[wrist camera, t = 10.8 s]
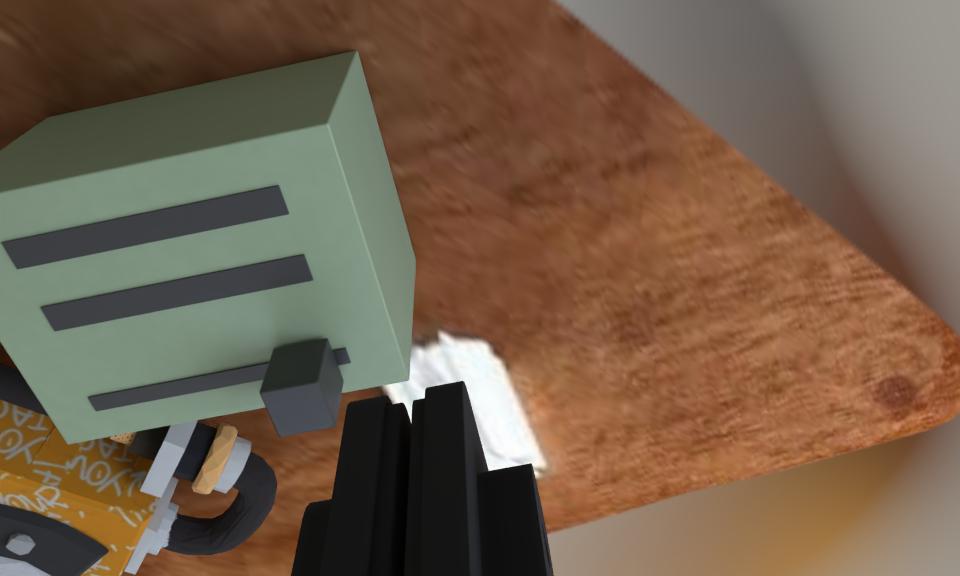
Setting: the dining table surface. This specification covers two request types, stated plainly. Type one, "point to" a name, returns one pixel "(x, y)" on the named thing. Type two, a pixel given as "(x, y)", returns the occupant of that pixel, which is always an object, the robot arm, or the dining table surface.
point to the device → (116, 491)
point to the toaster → (202, 248)
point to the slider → (302, 387)
